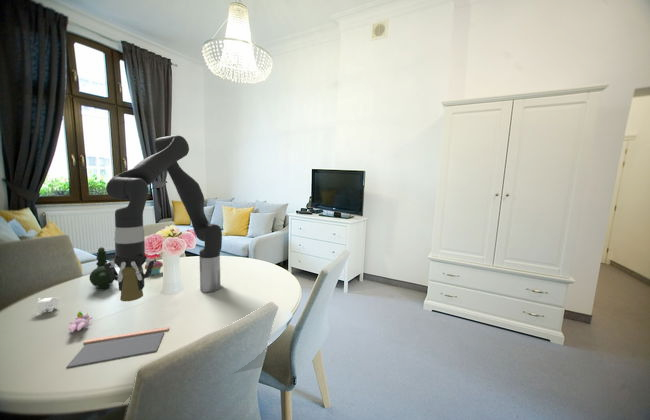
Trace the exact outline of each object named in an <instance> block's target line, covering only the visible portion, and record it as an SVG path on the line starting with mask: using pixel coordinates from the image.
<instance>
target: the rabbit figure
mask: <svg viewBox="0 0 650 420" xmlns="http://www.w3.org/2000/svg"><path fill="white" fill-rule="evenodd" d="M92 319H93V317H92V316H89V314H88V312H87V313H86V314H83V313H82V311H78V313H77V315H76V318H75V320H73V321H69V322H68V324H70V325H69V327H68V330H69V331H70V332H71V333H74V331H77V332H79V331H80V330H81V329H84V328H85V327H86V326H87V325H89V324H90V321H89V320H92Z"/></svg>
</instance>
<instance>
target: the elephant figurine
mask: <svg viewBox="0 0 650 420" xmlns="http://www.w3.org/2000/svg"><path fill="white" fill-rule="evenodd" d="M59 302H60V299H59V298H58V297H56V296H53V297H46V298H42V297H39V298H37V300H36V301H35V303H34V305H35V306H36V312H38V313H40V314H44V313H46V312H48V313H51V312H53V310H57V309H58V305H59Z"/></svg>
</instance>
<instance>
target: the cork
mask: <svg viewBox="0 0 650 420" xmlns="http://www.w3.org/2000/svg"><path fill="white" fill-rule="evenodd" d="M139 270H141V267H140V268H139ZM136 271H137V270H135V268H133V267H132V266H127V267H125V268H124V269H123V270H122V271H121V272H122V275H123V284H122V291H120V298H119V300H120V301H121V302H133V301H136V300H139V299H141V298H142V297H144V292H143V289H141V291H139V287H138V282H137V281H138V278H137V274H136Z"/></svg>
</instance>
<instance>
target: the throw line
mask: <svg viewBox="0 0 650 420" xmlns="http://www.w3.org/2000/svg"><path fill="white" fill-rule="evenodd" d="M169 330H170V326H167V327H165V326H163V327H159V328H153V329H146V330H140V331H133V332H128V333H120V334H115V335H114V334H113V335H107V336H106V335H105V336H100V337H94V338H88V339H85V340H84V341H83V343H82V344H83V345H87V344H93V343H100V342H106V341H112V340H118V339H124V338H131V337H137V336H143V335H149V334H155V333H162V332H168V331H169Z"/></svg>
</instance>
